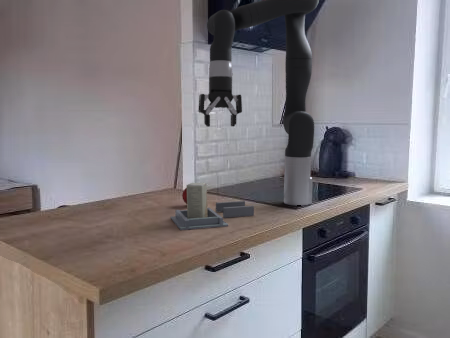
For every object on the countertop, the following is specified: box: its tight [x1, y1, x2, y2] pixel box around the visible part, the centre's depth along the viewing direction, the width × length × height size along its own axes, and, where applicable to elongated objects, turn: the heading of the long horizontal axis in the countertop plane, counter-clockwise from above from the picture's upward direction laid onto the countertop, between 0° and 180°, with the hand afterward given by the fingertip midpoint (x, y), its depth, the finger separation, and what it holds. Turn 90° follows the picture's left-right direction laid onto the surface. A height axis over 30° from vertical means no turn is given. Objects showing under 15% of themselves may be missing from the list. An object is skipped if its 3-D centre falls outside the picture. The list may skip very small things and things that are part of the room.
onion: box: [182, 187, 187, 205], centre depth 144 cm, size 6×6×8 cm
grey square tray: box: [170, 207, 229, 231], centre depth 123 cm, size 14×14×3 cm
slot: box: [215, 200, 255, 219], centre depth 134 cm, size 10×9×3 cm
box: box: [186, 182, 208, 219], centre depth 122 cm, size 5×4×11 cm
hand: (220, 126), depth 135 cm, fingers open, 8 cm apart
